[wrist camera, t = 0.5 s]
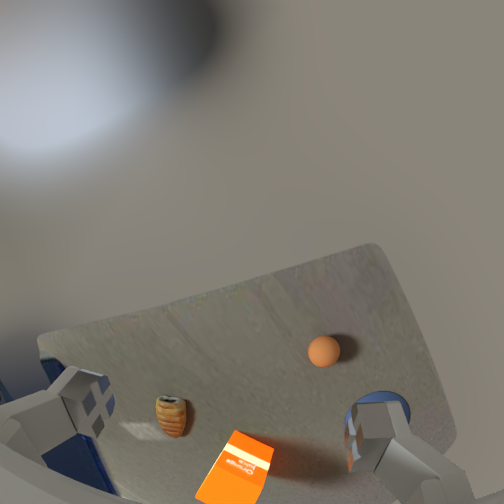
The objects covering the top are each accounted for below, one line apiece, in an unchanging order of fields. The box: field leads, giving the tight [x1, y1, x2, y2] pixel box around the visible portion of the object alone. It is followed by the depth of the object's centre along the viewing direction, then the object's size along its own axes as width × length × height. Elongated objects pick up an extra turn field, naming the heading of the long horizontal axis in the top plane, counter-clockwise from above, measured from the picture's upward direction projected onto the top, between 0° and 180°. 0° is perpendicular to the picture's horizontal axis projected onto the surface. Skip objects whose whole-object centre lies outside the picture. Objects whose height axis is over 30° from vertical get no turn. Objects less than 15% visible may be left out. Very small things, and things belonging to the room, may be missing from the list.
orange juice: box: [195, 430, 274, 504], centre depth 46 cm, size 8×9×20 cm
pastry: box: [155, 396, 186, 438], centre depth 58 cm, size 9×7×4 cm
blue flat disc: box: [345, 391, 410, 429], centre depth 52 cm, size 13×13×1 cm
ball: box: [308, 336, 340, 367], centre depth 53 cm, size 6×6×6 cm
